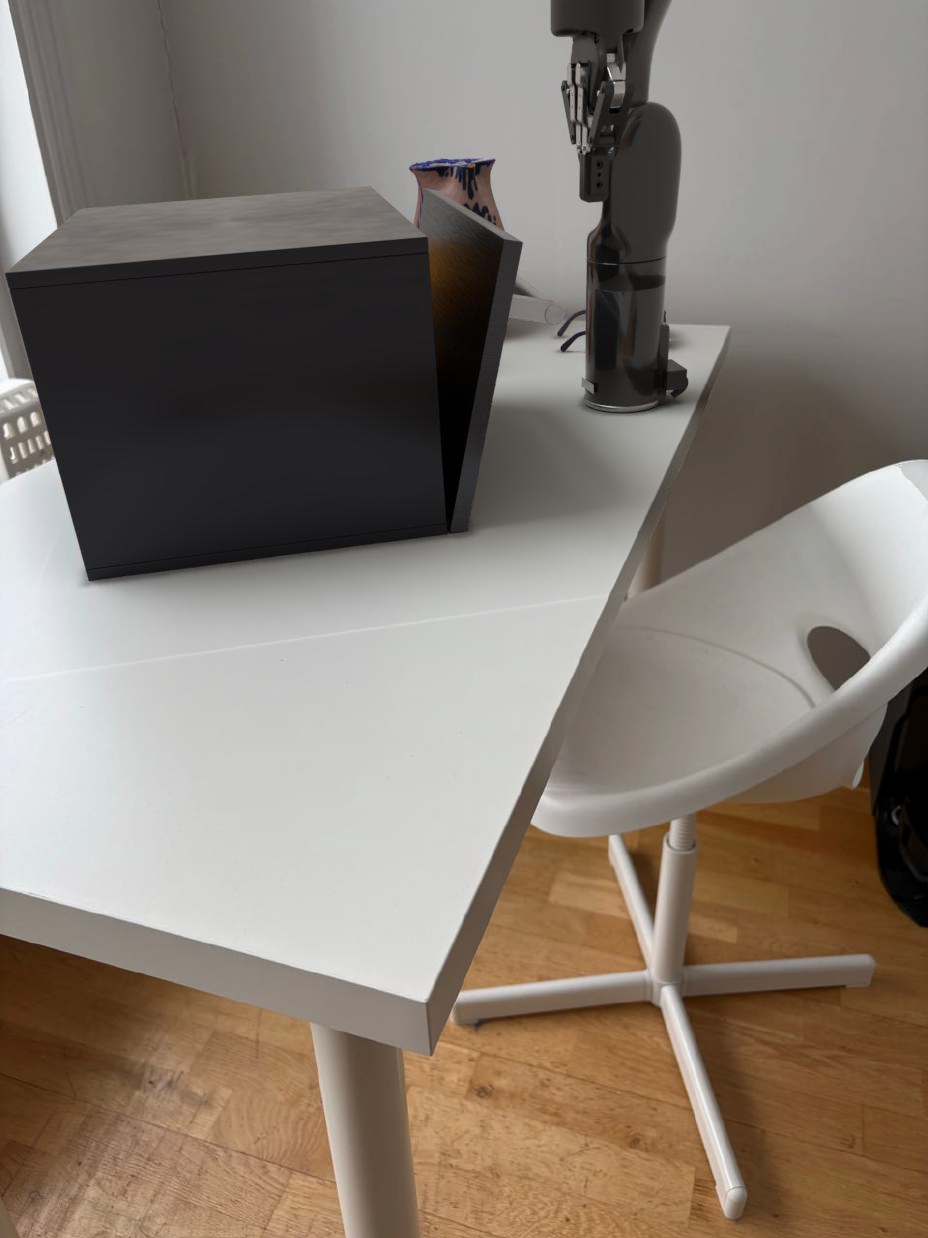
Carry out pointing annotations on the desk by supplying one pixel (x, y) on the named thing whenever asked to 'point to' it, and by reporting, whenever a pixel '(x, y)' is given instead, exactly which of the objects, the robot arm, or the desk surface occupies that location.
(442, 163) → the ceramic pitcher
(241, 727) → the desk surface
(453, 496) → the oven door
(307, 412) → the oven
